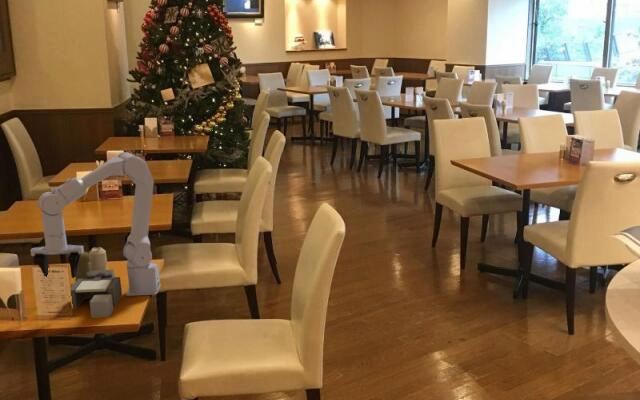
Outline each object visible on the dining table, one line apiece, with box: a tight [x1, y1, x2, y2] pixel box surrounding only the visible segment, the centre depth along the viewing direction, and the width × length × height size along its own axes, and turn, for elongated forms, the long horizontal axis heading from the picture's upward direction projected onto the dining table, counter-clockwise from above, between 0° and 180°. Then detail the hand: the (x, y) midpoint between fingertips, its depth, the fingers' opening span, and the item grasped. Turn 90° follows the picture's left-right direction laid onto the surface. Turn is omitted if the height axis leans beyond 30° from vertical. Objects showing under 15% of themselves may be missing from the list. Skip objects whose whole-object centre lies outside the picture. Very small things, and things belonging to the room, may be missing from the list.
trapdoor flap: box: [75, 269, 116, 292], centre depth 202 cm, size 9×12×4 cm
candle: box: [88, 246, 109, 271], centre depth 221 cm, size 6×6×10 cm
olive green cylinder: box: [74, 251, 91, 283], centre depth 214 cm, size 6×6×11 cm
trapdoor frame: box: [70, 276, 123, 310], centre depth 201 cm, size 13×9×6 cm
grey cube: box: [89, 294, 114, 319], centre depth 193 cm, size 5×5×5 cm
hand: (61, 277), depth 194 cm, fingers open, 7 cm apart
